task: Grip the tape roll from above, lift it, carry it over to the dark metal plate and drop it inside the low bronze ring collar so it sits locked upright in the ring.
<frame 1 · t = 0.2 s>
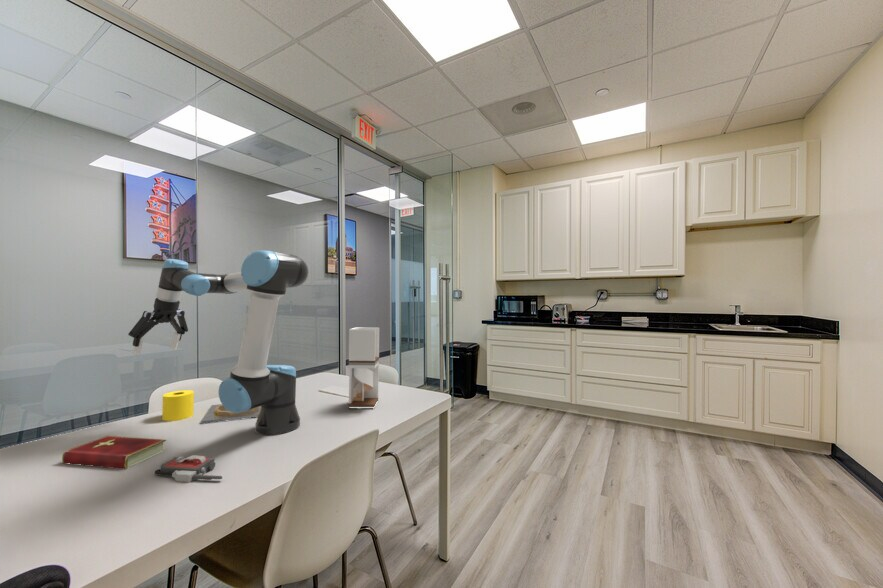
hand: (155, 351, 134), 27 cm above the table, tool tilted 20°, fingers open, 13 cm apart
ring collar plate: (237, 411, 146), on the table
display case: (363, 405, 157), on the table
tape roll: (178, 417, 140), on the table
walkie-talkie: (195, 476, 95), on the table
hardcover book: (116, 459, 104), on the table
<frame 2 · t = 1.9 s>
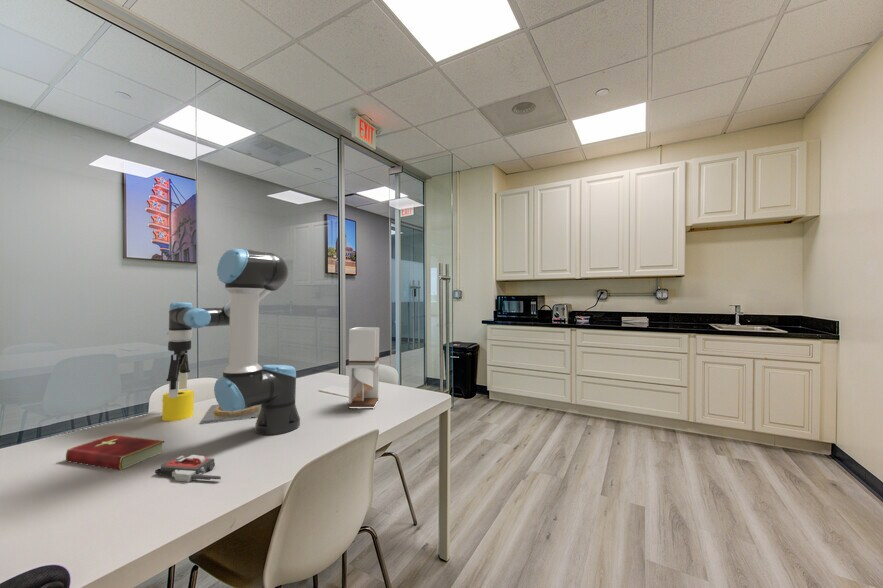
hand: (178, 392, 140), 10 cm above the table, tool pointing down, fingers open, 13 cm apart
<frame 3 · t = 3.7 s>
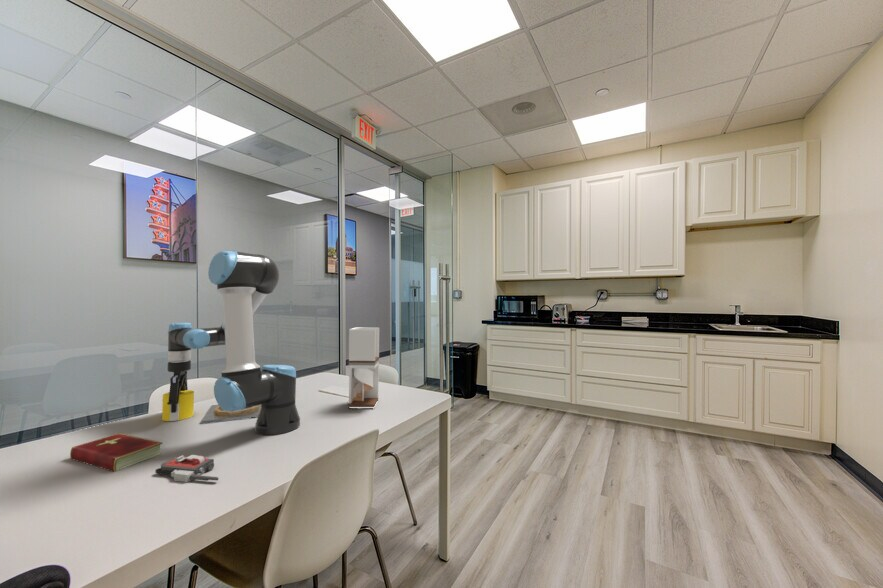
hand: (178, 416, 140), 0 cm above the table, tool pointing down, fingers closed on tape roll, 10 cm apart
tape roll: (178, 417, 140), on the table, touching gripper
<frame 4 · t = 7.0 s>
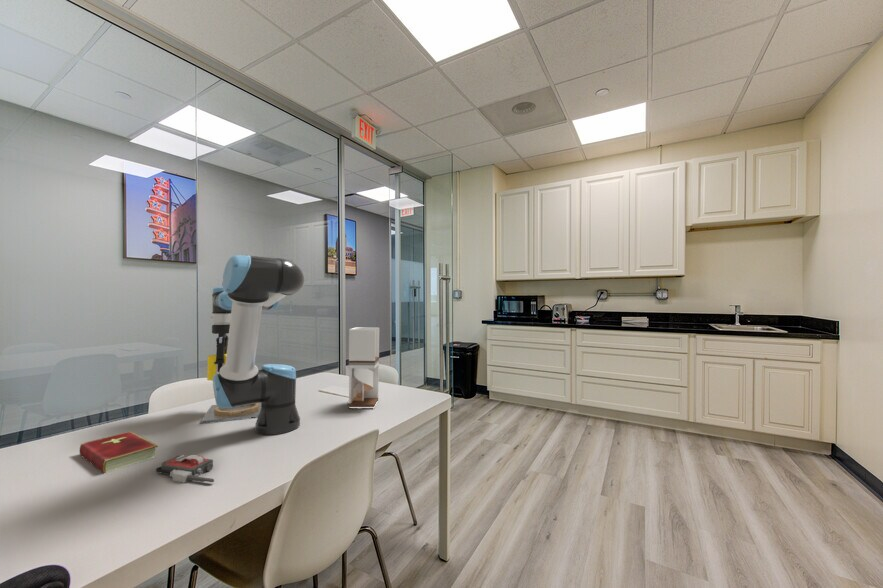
hand: (221, 377, 144), 15 cm above the table, tool pointing down, fingers closed on tape roll, 10 cm apart
tape roll: (221, 378, 144), point 15 cm above the table, touching gripper
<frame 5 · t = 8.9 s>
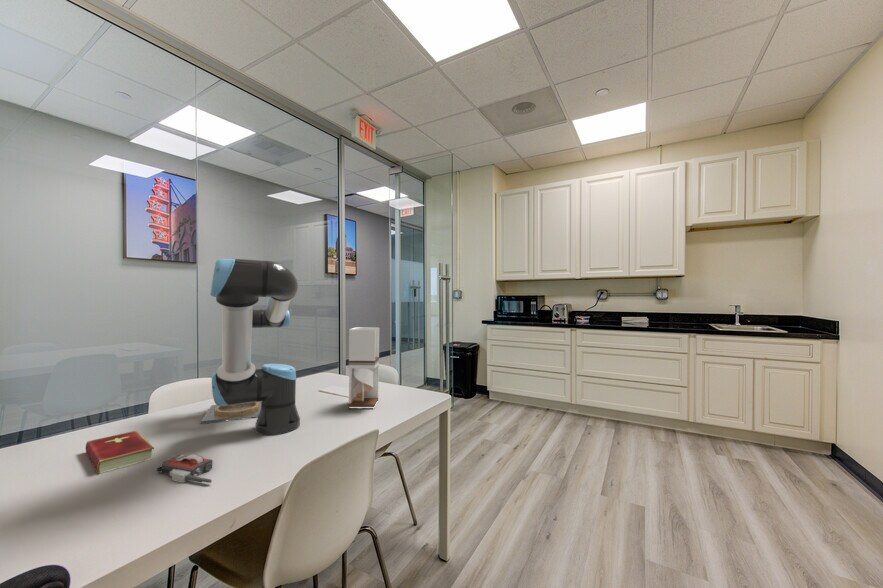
hand: (237, 392, 147), 8 cm above the table, tool pointing down, fingers closed on tape roll, 10 cm apart
tape roll: (238, 393, 147), point 8 cm above the table, touching gripper
when the fingers open (4 cm above the table, at t = 10.6 s): tape roll drops 3 cm, resting on ring collar plate.
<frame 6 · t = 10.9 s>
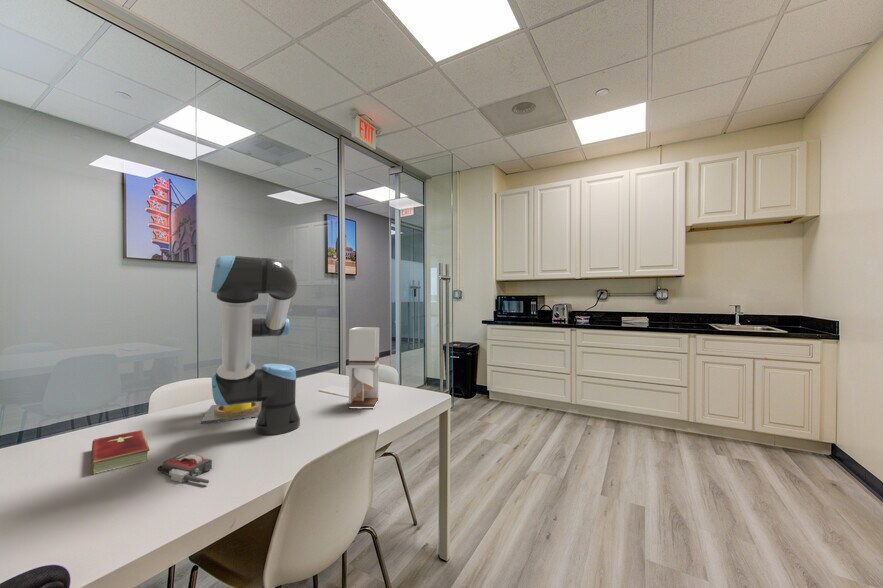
hand: (237, 399, 147), 5 cm above the table, tool pointing down, fingers open, 13 cm apart
tape roll: (237, 409, 146), point 1 cm above the table, touching ring collar plate
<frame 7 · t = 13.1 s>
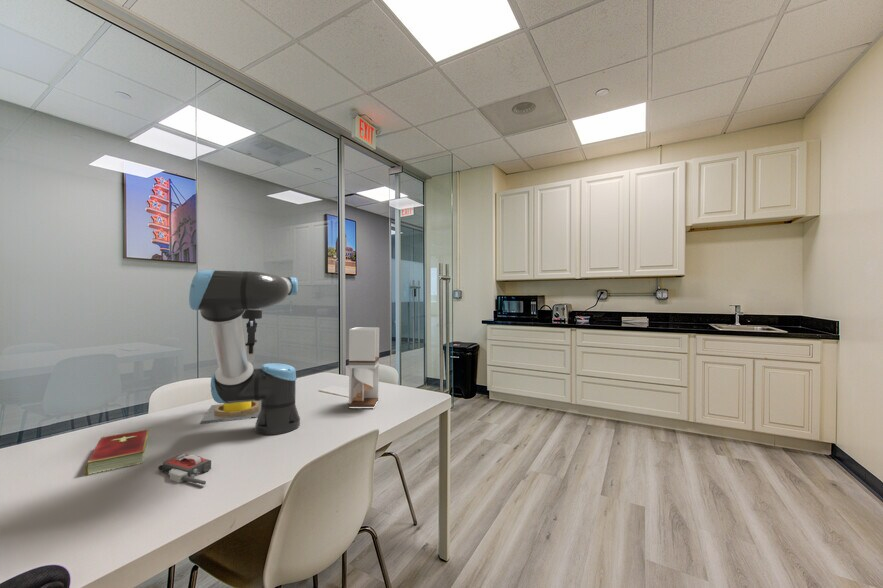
hand: (250, 359, 147), 22 cm above the table, tool pointing down, fingers open, 13 cm apart
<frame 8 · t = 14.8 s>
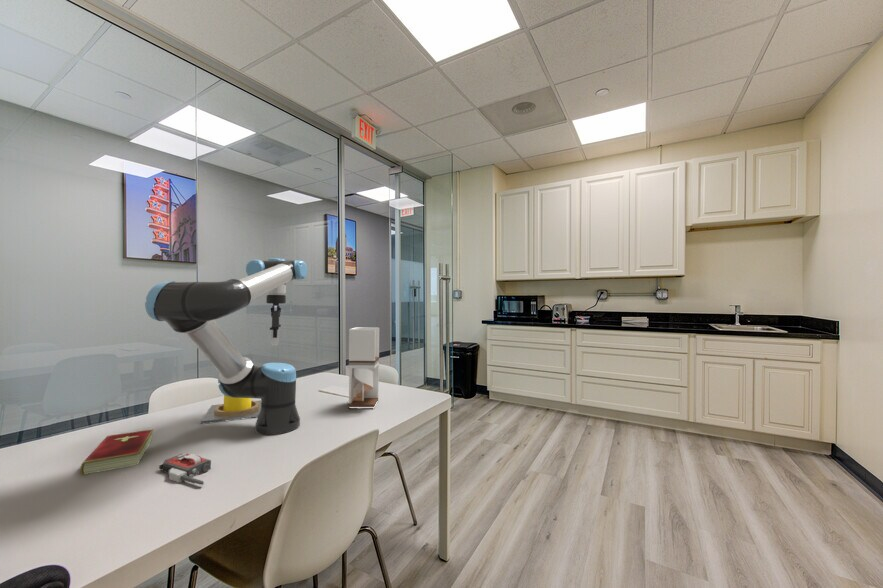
hand: (275, 343, 149), 29 cm above the table, tool pointing down, fingers open, 13 cm apart
at the end: tape roll 0.0 cm off-centre on the ring collar plate, point 0.8 cm above the ring collar plate's base; tape roll tilted 0°; the gripper is holding nothing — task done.
